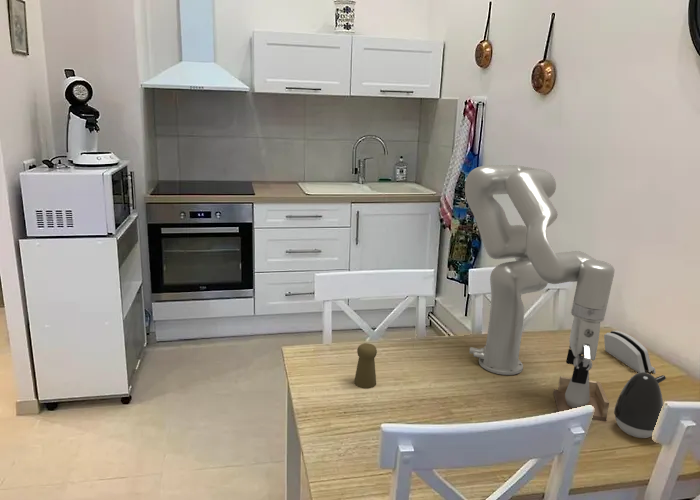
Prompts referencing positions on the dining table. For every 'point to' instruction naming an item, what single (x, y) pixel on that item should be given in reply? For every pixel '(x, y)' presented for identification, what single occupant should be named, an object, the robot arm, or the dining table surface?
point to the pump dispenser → (639, 405)
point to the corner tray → (596, 400)
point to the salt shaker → (578, 391)
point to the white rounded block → (628, 351)
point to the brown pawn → (366, 366)
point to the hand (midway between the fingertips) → (575, 373)
